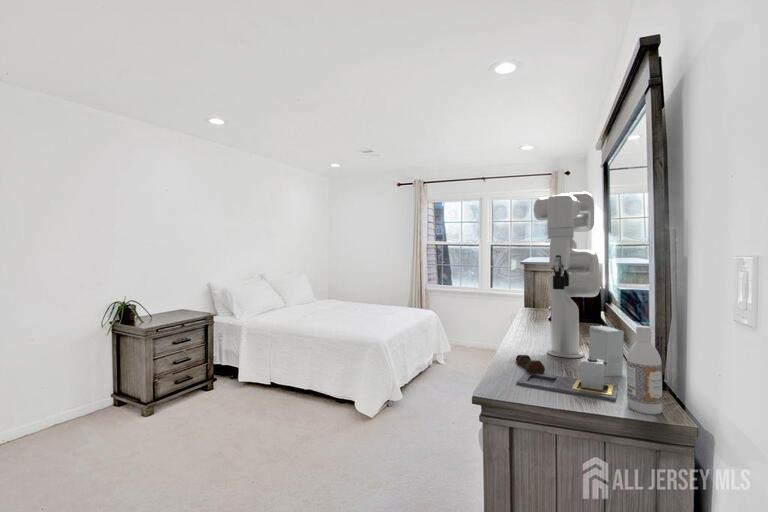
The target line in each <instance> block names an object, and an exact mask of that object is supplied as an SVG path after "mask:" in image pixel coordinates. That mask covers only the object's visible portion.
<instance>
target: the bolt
mask: <svg viewBox="0 0 768 512" xmlns="http://www.w3.org/2000/svg"><path fill="white" fill-rule="evenodd" d="M515 361H516V363H517V365H518V366H520V367H522V368H524V369H525V371H526V372H527V371H528V372H534V373H541V374H545V372H546V368H545V365H544V364H543V363H542V362H541V360H534V359H533V360H532V358H531V357H530V356H529V355H528V354H518V355H516V357H515Z"/></svg>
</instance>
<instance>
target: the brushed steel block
mask: <svg viewBox="0 0 768 512" xmlns="http://www.w3.org/2000/svg"><path fill="white" fill-rule="evenodd" d="M580 379H581V389H584V390H590V391H597V392H604V383H605V376H604V360H600V359H592V358H589V357H584V356H583V357H582V359H581V360H580Z"/></svg>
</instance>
